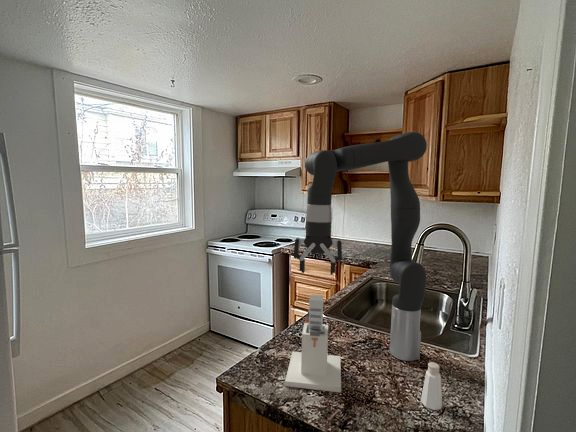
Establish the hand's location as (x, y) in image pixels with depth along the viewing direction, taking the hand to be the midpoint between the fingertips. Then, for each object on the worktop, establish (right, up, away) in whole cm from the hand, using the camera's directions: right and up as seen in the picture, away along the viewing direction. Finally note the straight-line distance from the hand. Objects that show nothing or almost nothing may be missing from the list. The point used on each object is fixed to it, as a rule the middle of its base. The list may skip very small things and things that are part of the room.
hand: (317, 273), depth 91 cm
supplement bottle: (0, -30, +23) cm, 38 cm away
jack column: (-1, -30, +3) cm, 30 cm away
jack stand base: (-1, -32, +3) cm, 32 cm away
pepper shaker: (+30, -34, -9) cm, 46 cm away
